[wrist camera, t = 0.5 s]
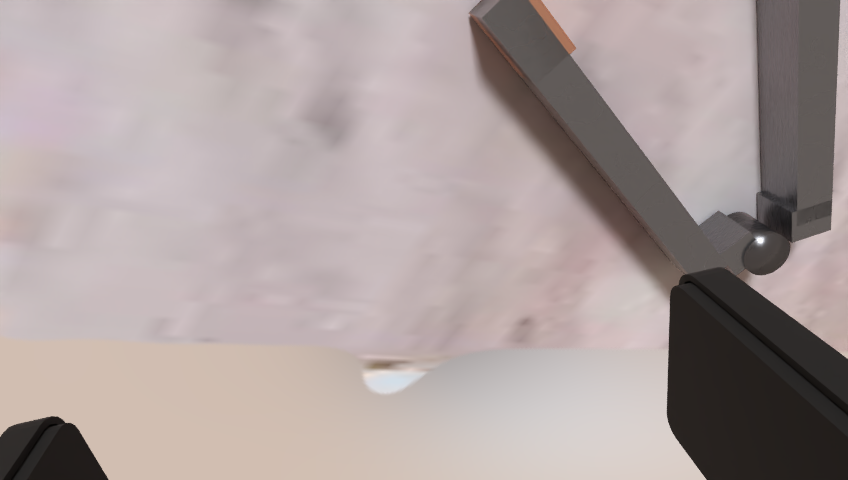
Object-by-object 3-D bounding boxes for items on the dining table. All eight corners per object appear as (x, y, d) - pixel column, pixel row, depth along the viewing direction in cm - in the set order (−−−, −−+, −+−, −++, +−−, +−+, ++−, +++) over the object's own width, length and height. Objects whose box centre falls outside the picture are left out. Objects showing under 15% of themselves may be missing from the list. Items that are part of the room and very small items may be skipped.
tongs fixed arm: (795, -195, 25) (848, -214, 22) (793, 209, 34) (830, 229, 32) (743, -177, 25) (790, -193, 22) (756, 221, 34) (790, 243, 32)
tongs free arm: (554, -72, 26) (579, -76, 23) (760, 230, 35) (797, 254, 32) (468, 13, 27) (482, 18, 24) (689, 284, 36) (718, 311, 33)
